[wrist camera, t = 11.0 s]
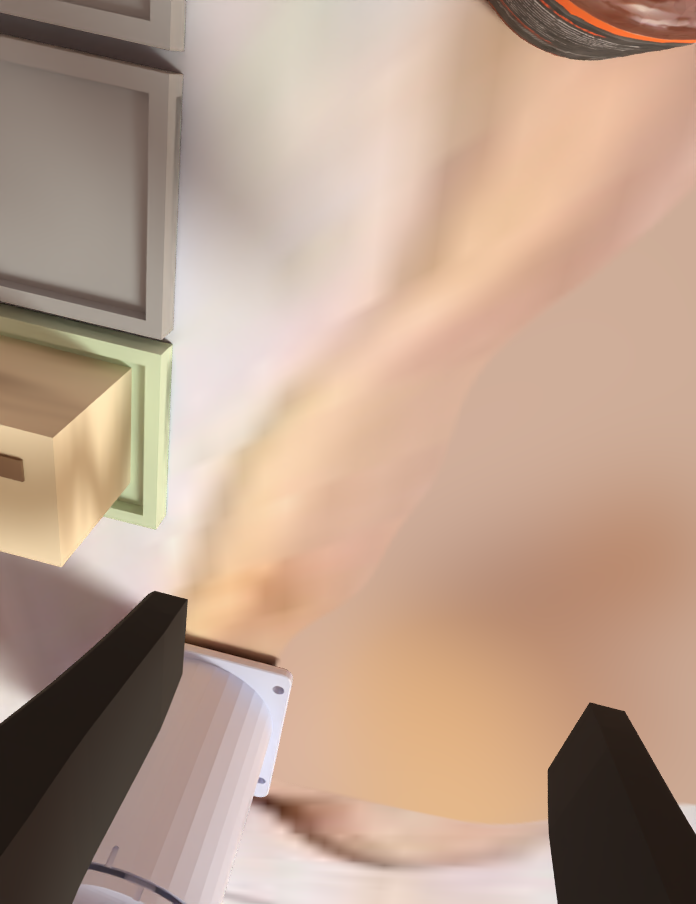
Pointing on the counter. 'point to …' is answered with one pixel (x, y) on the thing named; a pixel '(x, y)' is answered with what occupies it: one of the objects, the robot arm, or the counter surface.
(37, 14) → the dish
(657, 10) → the supplement bottle
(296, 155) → the counter surface
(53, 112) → the middle dish
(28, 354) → the letter block
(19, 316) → the green dish
